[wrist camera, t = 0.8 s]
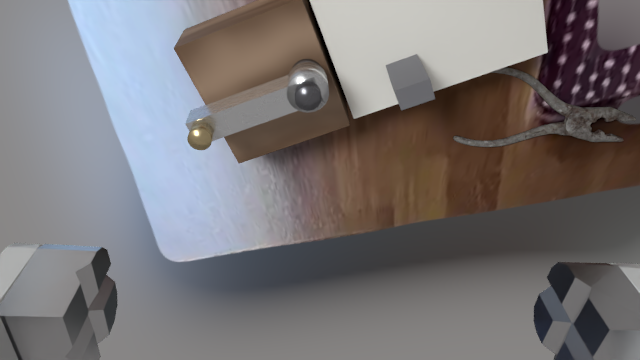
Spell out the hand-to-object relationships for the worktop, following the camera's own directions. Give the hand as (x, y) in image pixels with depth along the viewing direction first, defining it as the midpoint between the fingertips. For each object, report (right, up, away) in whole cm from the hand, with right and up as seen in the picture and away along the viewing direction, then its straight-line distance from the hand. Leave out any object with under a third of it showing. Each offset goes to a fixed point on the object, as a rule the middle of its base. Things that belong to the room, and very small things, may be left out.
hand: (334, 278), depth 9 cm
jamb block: (-5, +13, +40) cm, 43 cm away
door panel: (+10, +18, +38) cm, 43 cm away
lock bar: (-6, +9, +35) cm, 37 cm away
